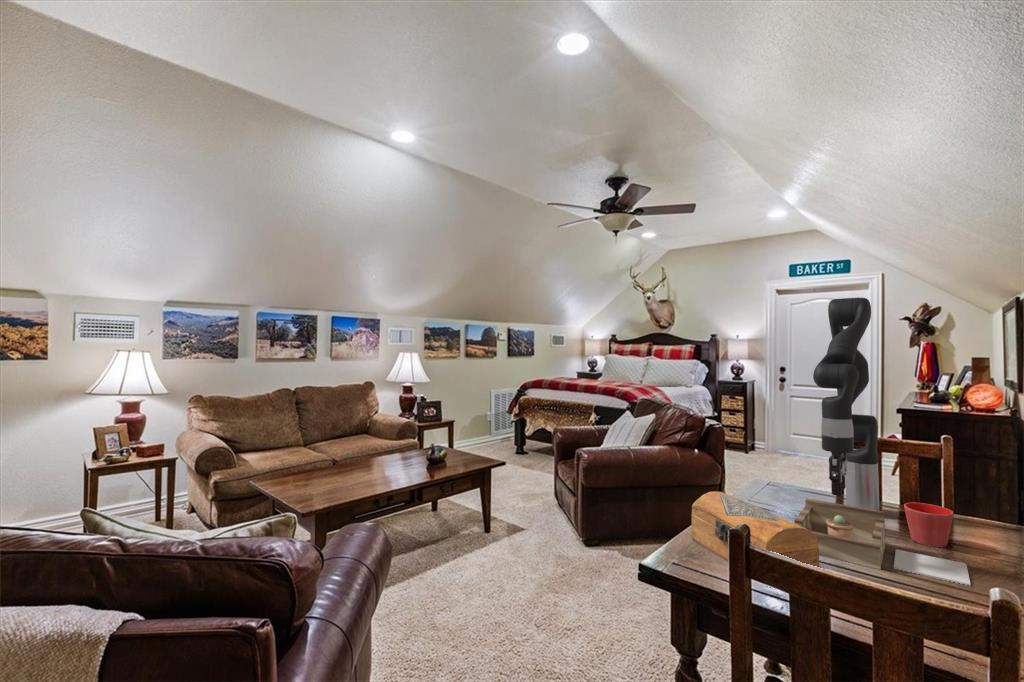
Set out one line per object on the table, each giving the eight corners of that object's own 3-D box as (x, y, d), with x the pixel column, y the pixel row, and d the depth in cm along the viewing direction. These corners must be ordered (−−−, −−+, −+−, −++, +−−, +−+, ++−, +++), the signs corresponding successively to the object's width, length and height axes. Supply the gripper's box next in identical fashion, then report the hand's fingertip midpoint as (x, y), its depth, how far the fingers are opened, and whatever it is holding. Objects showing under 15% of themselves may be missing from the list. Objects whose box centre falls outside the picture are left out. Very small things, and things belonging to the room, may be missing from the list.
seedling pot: (828, 541, 137) (827, 510, 137) (854, 547, 133) (853, 515, 133) (825, 548, 132) (824, 516, 133) (852, 554, 128) (851, 521, 128)
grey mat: (896, 550, 130) (895, 549, 130) (966, 565, 121) (966, 563, 121) (893, 568, 119) (893, 566, 119) (970, 586, 110) (970, 584, 110)
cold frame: (806, 529, 146) (805, 498, 146) (885, 545, 134) (884, 511, 134) (793, 549, 132) (793, 514, 132) (881, 569, 119) (880, 531, 119)
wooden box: (687, 540, 139) (686, 493, 140) (736, 535, 143) (735, 489, 143) (762, 589, 110) (761, 530, 110) (821, 581, 114) (819, 523, 114)
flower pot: (965, 551, 130) (963, 515, 130) (919, 548, 132) (918, 513, 132) (938, 536, 140) (937, 503, 140) (896, 533, 142) (895, 501, 142)
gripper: (825, 429, 141) (826, 484, 141) (817, 436, 131) (818, 495, 130) (856, 432, 136) (857, 488, 136) (850, 439, 126) (852, 500, 125)
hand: (838, 491), depth 133 cm, fingers open, 8 cm apart
